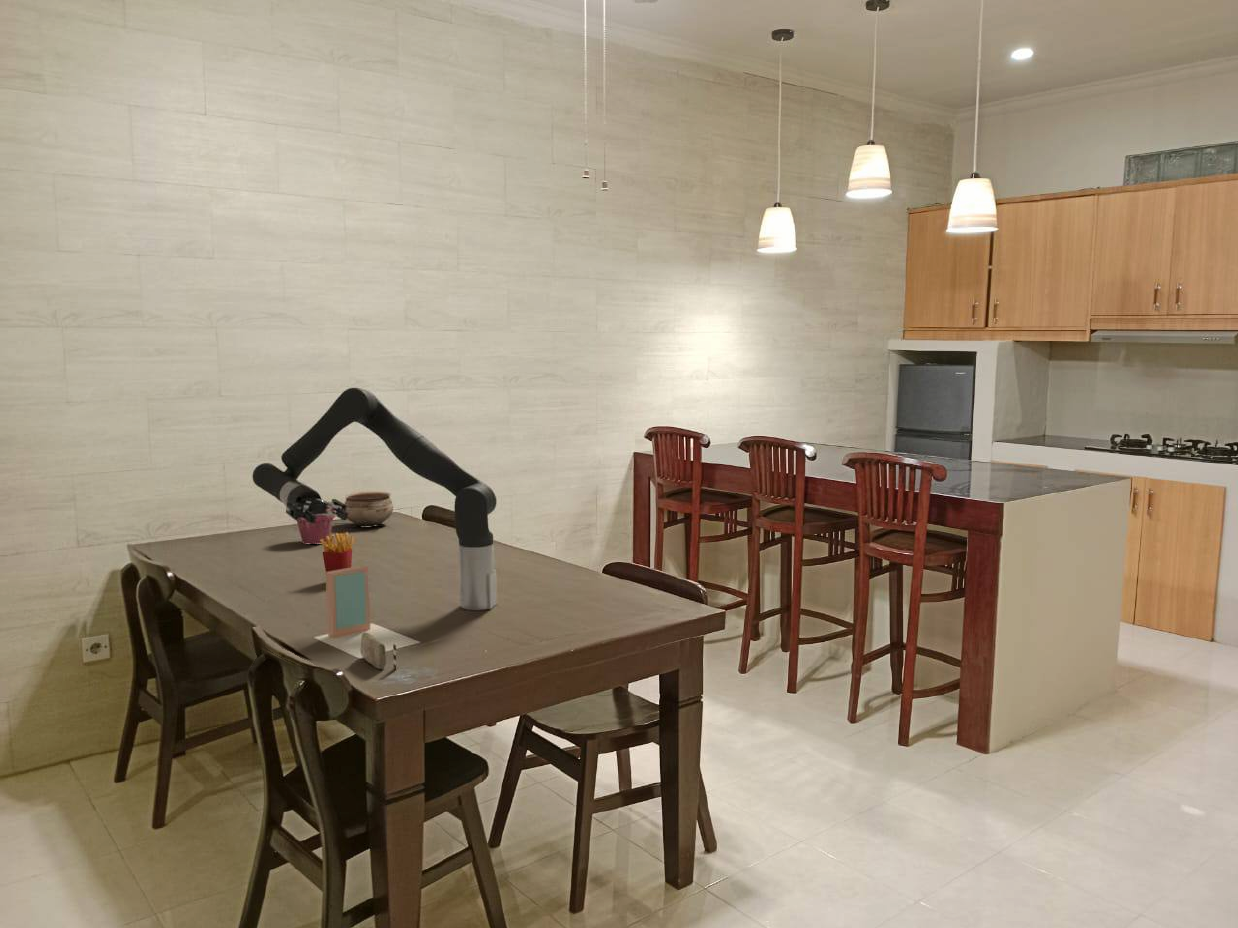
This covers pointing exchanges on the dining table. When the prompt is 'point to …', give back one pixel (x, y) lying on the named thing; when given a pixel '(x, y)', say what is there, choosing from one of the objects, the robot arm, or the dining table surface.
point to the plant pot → (316, 528)
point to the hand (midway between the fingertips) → (330, 518)
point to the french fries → (337, 552)
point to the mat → (383, 635)
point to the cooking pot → (368, 508)
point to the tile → (347, 601)
